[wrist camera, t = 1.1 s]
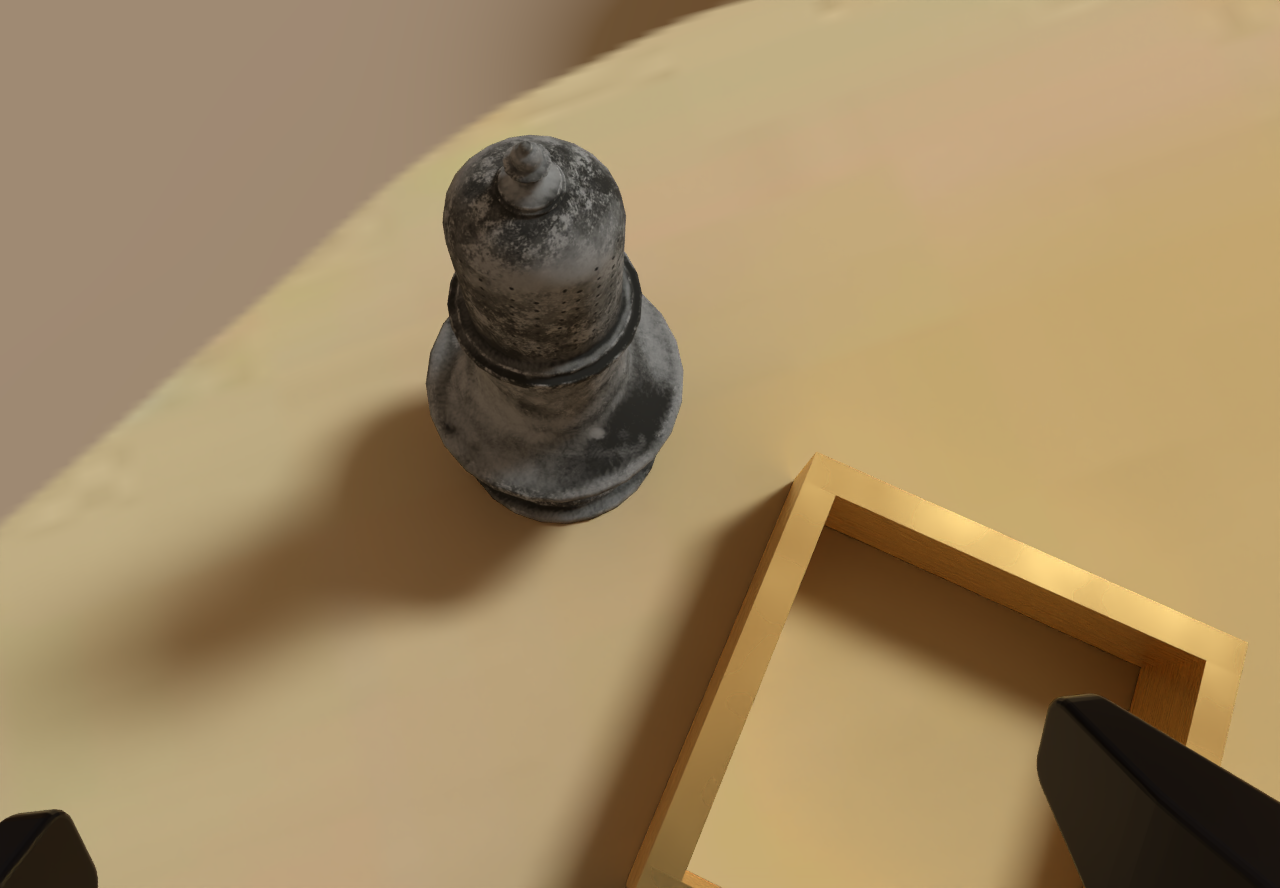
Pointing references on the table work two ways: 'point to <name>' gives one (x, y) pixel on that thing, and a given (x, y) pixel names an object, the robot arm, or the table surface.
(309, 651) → the table surface
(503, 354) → the dark grey tall piece
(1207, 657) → the two-tone flat frame block
